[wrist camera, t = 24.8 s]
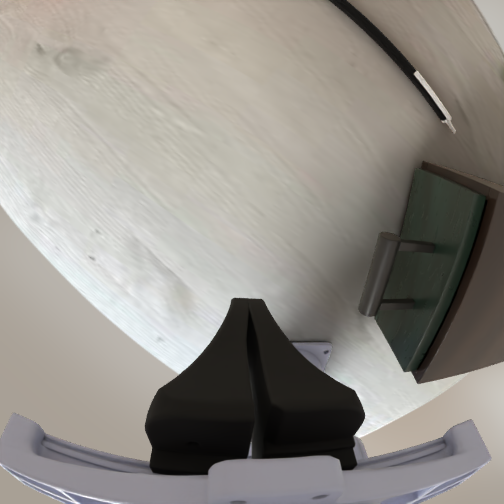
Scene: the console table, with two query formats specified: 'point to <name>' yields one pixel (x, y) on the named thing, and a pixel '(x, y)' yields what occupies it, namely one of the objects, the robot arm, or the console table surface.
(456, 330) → the cabinet
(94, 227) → the console table surface
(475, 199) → the drawer
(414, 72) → the pen
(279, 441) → the robot arm
